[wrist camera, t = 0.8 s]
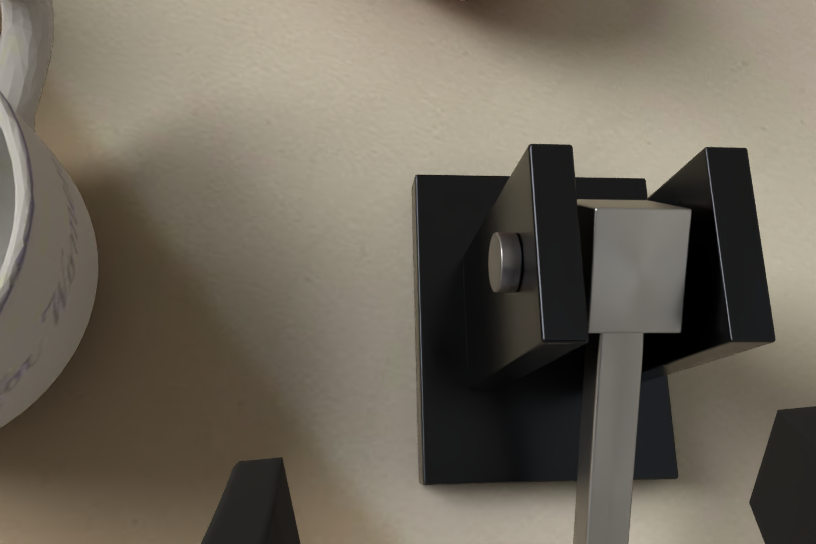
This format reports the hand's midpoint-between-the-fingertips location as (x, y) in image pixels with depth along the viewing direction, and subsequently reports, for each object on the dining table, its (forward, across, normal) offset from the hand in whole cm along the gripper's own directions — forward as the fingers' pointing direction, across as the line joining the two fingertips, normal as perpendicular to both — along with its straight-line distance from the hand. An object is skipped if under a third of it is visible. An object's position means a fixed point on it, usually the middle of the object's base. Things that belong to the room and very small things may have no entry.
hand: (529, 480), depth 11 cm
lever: (+6, -3, +5) cm, 9 cm away
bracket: (+12, -3, +7) cm, 15 cm away
